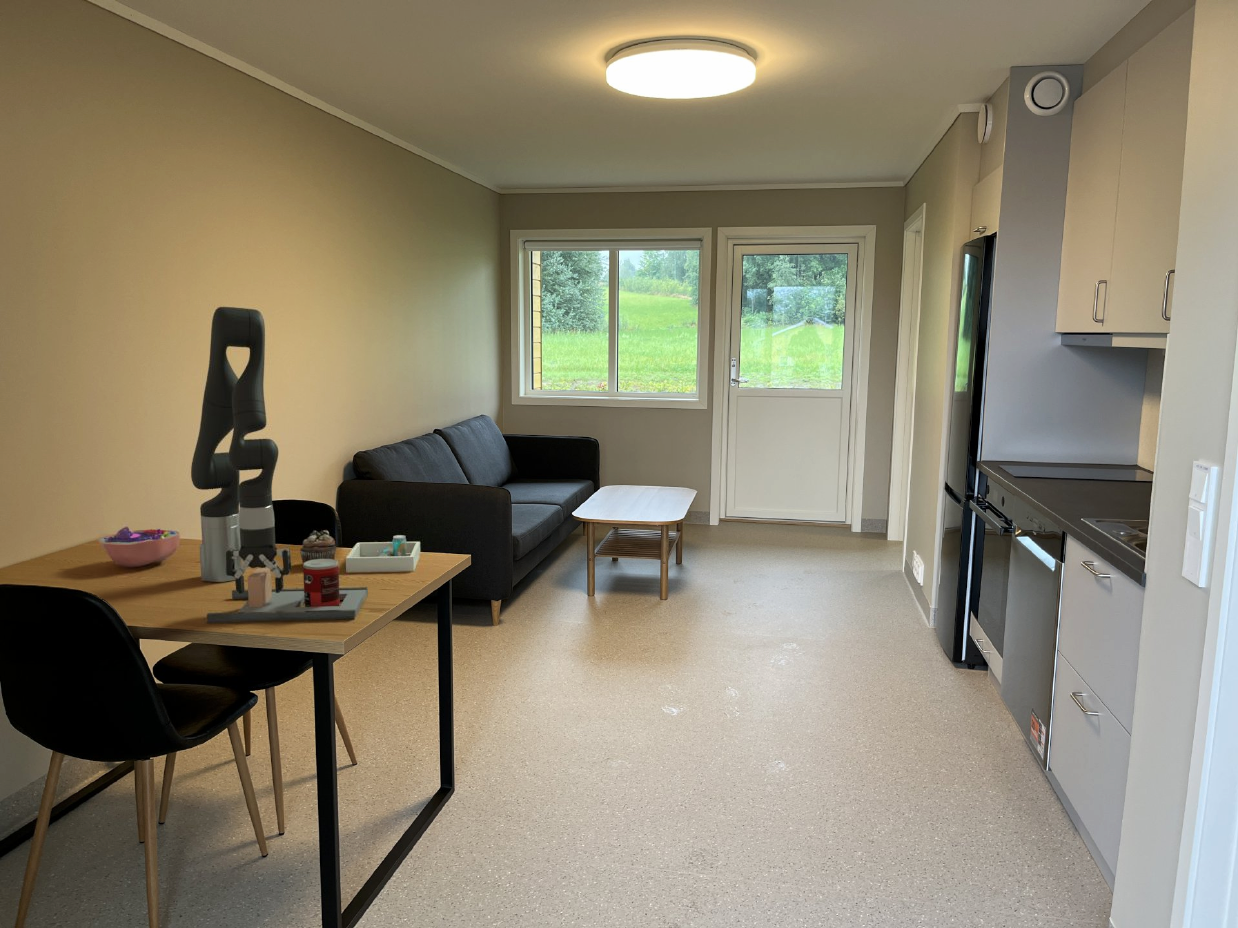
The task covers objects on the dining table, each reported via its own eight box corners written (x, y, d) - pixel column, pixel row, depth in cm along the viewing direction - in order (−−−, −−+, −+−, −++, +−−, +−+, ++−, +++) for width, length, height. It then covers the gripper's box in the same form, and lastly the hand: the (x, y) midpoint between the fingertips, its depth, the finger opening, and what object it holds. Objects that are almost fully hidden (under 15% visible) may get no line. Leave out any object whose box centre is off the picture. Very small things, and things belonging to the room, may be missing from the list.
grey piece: (237, 618, 198) (235, 582, 197) (257, 597, 214) (255, 564, 212) (355, 615, 201) (354, 580, 200) (366, 595, 217) (365, 562, 216)
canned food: (309, 602, 211) (307, 558, 210) (343, 602, 212) (341, 558, 211) (300, 612, 204) (298, 567, 202) (335, 612, 205) (334, 566, 203)
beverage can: (409, 569, 243) (408, 541, 242) (365, 569, 243) (364, 541, 242) (417, 558, 255) (416, 531, 254) (375, 558, 255) (375, 531, 253)
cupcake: (331, 559, 252) (330, 525, 250) (340, 567, 244) (339, 532, 242) (296, 563, 247) (295, 529, 245) (304, 571, 239) (303, 536, 237)
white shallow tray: (346, 572, 238) (345, 558, 238) (357, 555, 256) (357, 542, 256) (413, 571, 241) (413, 557, 240) (420, 554, 258) (420, 541, 258)
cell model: (188, 566, 242) (186, 526, 241) (105, 577, 231) (102, 535, 229) (176, 553, 256) (173, 515, 254) (97, 563, 244) (94, 523, 242)
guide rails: (207, 623, 196) (206, 614, 196) (233, 597, 214) (233, 589, 214) (354, 619, 200) (354, 610, 200) (367, 594, 218) (367, 587, 218)
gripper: (219, 528, 199) (223, 597, 201) (284, 527, 201) (287, 596, 203) (229, 521, 206) (233, 588, 209) (292, 520, 208) (295, 587, 210)
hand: (260, 592), depth 206 cm, fingers open, 8 cm apart
